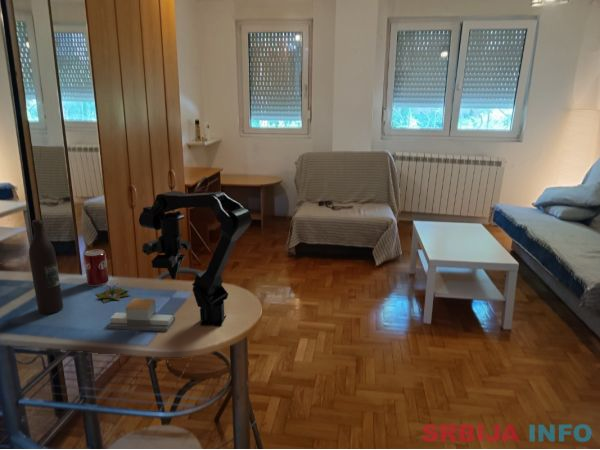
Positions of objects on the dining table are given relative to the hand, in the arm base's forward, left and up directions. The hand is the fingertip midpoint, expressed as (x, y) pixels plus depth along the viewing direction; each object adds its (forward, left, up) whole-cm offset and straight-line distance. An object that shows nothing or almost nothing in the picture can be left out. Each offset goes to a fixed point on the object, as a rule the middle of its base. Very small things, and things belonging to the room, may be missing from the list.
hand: (173, 278), depth 139 cm
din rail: (+7, +10, -11) cm, 16 cm away
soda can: (+36, -18, -11) cm, 42 cm away
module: (+7, +10, -10) cm, 16 cm away
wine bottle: (+40, +4, -11) cm, 42 cm away
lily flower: (+25, -8, -12) cm, 29 cm away
